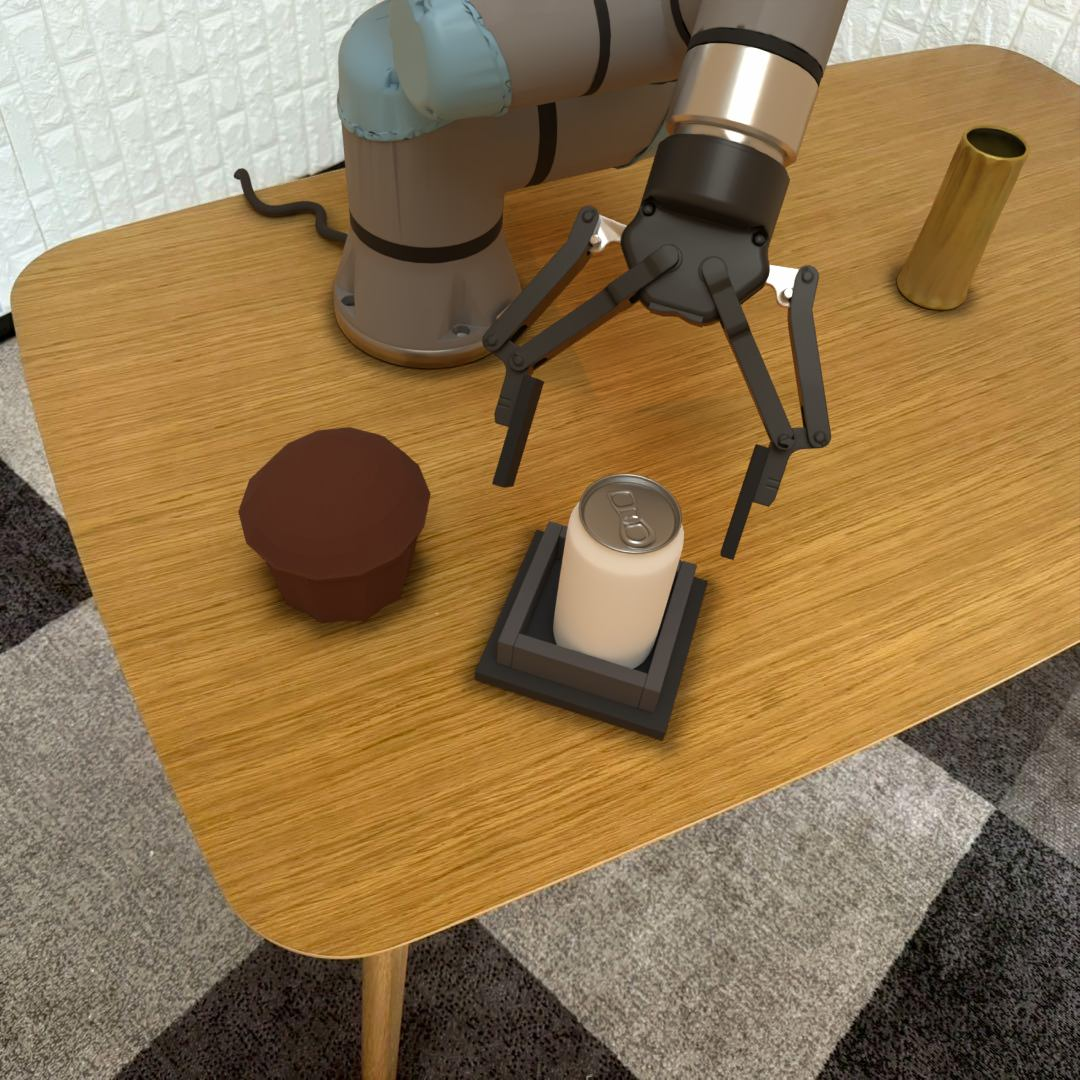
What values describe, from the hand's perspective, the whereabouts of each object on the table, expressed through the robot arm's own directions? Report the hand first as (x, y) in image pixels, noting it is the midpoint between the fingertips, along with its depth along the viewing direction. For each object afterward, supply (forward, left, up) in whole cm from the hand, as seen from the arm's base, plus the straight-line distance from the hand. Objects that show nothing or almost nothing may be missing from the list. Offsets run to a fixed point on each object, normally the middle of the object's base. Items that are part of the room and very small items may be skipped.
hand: (612, 520), depth 59 cm
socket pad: (0, -1, -9) cm, 10 cm away
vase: (+18, +45, -10) cm, 49 cm away
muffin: (-17, -2, -10) cm, 19 cm away
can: (+1, -2, -9) cm, 9 cm away
